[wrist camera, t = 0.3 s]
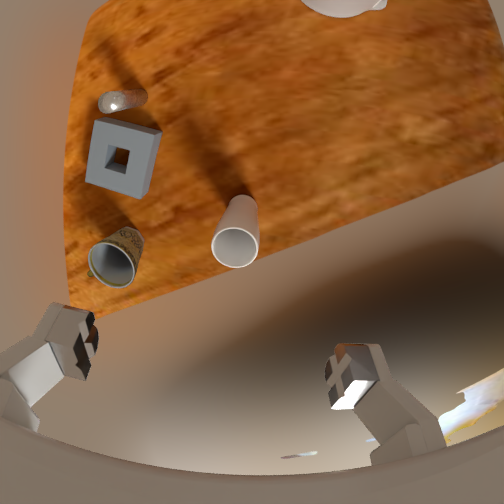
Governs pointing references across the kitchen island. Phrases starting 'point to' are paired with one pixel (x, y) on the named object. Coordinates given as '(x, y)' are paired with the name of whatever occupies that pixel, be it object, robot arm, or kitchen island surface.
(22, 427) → the robot arm
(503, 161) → the kitchen island surface
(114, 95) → the steel pin
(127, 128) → the socket block
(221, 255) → the white tapered cylinder
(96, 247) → the ceramic cup
